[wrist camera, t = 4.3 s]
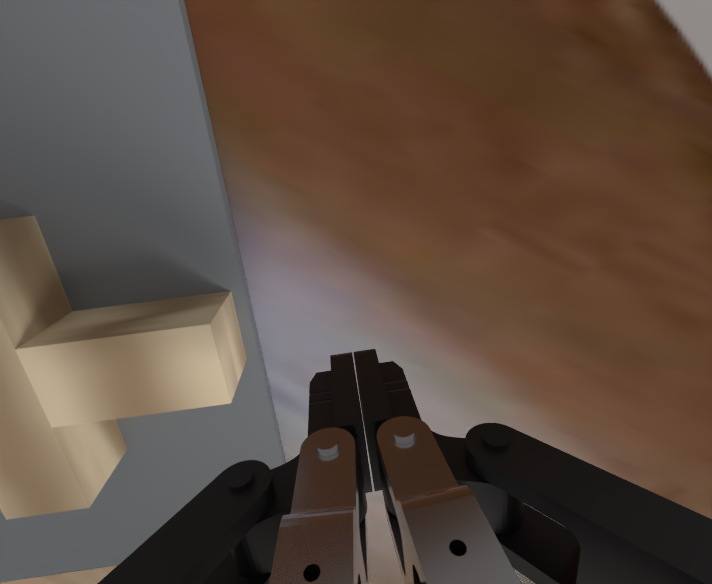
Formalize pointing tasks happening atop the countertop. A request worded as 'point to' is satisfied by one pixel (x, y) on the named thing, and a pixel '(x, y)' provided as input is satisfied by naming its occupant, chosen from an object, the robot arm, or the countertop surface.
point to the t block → (93, 374)
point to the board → (125, 244)
